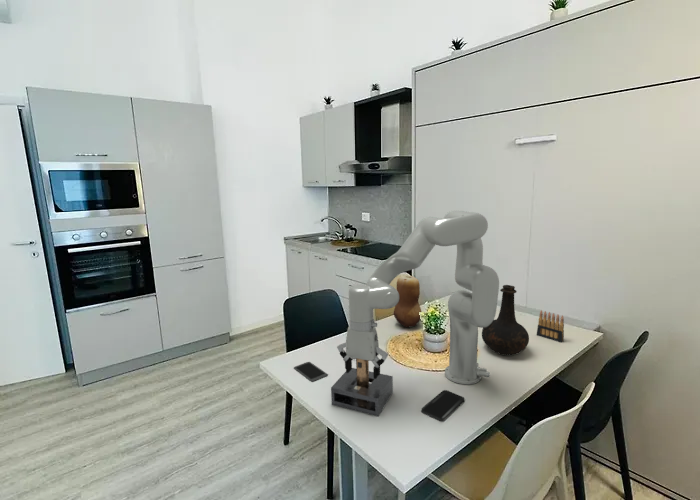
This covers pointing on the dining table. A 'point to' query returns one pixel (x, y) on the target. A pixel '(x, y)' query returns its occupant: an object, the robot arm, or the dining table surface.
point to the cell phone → (310, 371)
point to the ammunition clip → (551, 327)
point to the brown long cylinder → (362, 373)
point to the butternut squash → (408, 301)
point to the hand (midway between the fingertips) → (362, 373)
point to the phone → (443, 405)
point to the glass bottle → (506, 328)
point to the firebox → (362, 393)
